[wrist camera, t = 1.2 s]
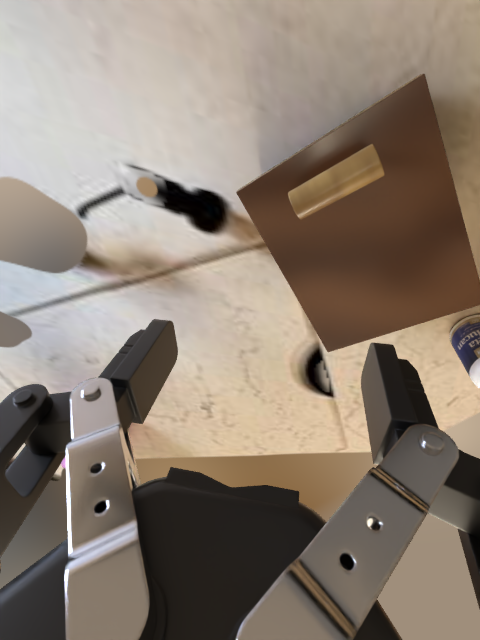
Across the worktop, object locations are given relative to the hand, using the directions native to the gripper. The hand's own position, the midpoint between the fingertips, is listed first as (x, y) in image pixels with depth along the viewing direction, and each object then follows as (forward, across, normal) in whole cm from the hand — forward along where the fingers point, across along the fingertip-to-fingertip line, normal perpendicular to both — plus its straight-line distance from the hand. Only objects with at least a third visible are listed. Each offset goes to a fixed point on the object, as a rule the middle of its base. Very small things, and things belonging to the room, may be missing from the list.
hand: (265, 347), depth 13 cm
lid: (+14, -6, +1) cm, 15 cm away
